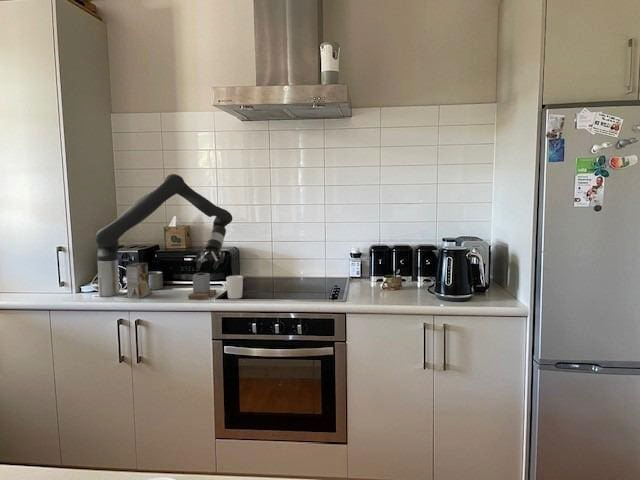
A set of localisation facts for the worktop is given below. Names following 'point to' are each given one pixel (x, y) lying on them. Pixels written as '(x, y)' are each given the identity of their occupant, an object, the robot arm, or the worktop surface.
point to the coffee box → (137, 280)
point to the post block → (202, 295)
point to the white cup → (234, 286)
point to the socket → (201, 283)
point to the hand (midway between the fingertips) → (206, 268)
